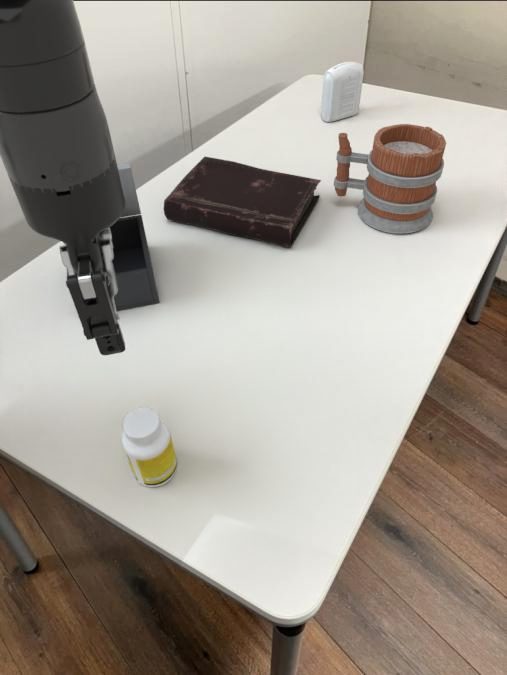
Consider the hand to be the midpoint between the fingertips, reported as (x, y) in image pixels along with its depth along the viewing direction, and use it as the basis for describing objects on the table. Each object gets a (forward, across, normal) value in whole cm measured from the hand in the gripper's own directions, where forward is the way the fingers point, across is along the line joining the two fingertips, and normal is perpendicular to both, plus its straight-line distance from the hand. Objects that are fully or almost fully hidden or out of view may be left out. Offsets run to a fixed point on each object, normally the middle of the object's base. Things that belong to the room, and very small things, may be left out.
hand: (110, 318), depth 48 cm
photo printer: (+22, -82, +57) cm, 102 cm away
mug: (+22, -40, +49) cm, 67 cm away
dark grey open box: (+22, -33, -2) cm, 40 cm away
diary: (+22, -48, +24) cm, 58 cm away
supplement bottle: (+22, +4, 0) cm, 23 cm away
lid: (+9, -36, -2) cm, 37 cm away
